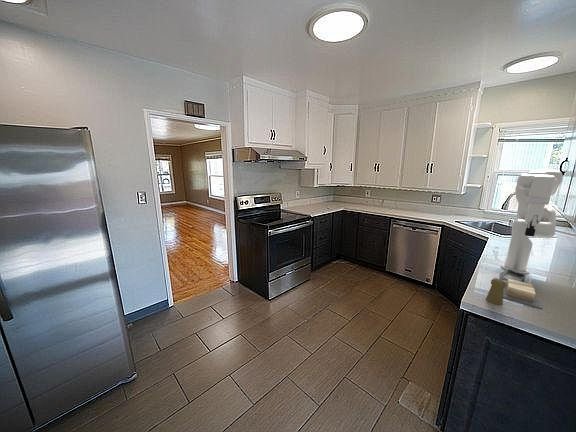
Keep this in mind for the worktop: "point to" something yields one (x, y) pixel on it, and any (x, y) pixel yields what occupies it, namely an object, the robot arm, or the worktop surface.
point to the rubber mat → (535, 303)
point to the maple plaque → (520, 290)
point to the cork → (496, 292)
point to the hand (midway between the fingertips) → (529, 235)
